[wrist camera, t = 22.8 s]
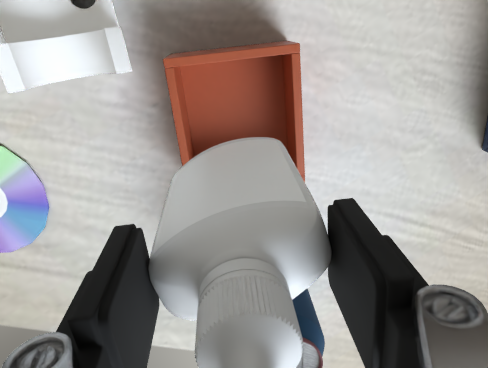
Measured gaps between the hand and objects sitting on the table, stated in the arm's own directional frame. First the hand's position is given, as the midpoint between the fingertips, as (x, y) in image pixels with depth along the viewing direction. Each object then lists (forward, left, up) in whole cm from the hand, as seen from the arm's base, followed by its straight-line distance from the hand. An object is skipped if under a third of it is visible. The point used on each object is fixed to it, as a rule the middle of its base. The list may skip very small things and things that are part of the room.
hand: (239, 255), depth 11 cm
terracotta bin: (0, +1, -21) cm, 21 cm away
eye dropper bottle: (0, 0, -7) cm, 7 cm away
